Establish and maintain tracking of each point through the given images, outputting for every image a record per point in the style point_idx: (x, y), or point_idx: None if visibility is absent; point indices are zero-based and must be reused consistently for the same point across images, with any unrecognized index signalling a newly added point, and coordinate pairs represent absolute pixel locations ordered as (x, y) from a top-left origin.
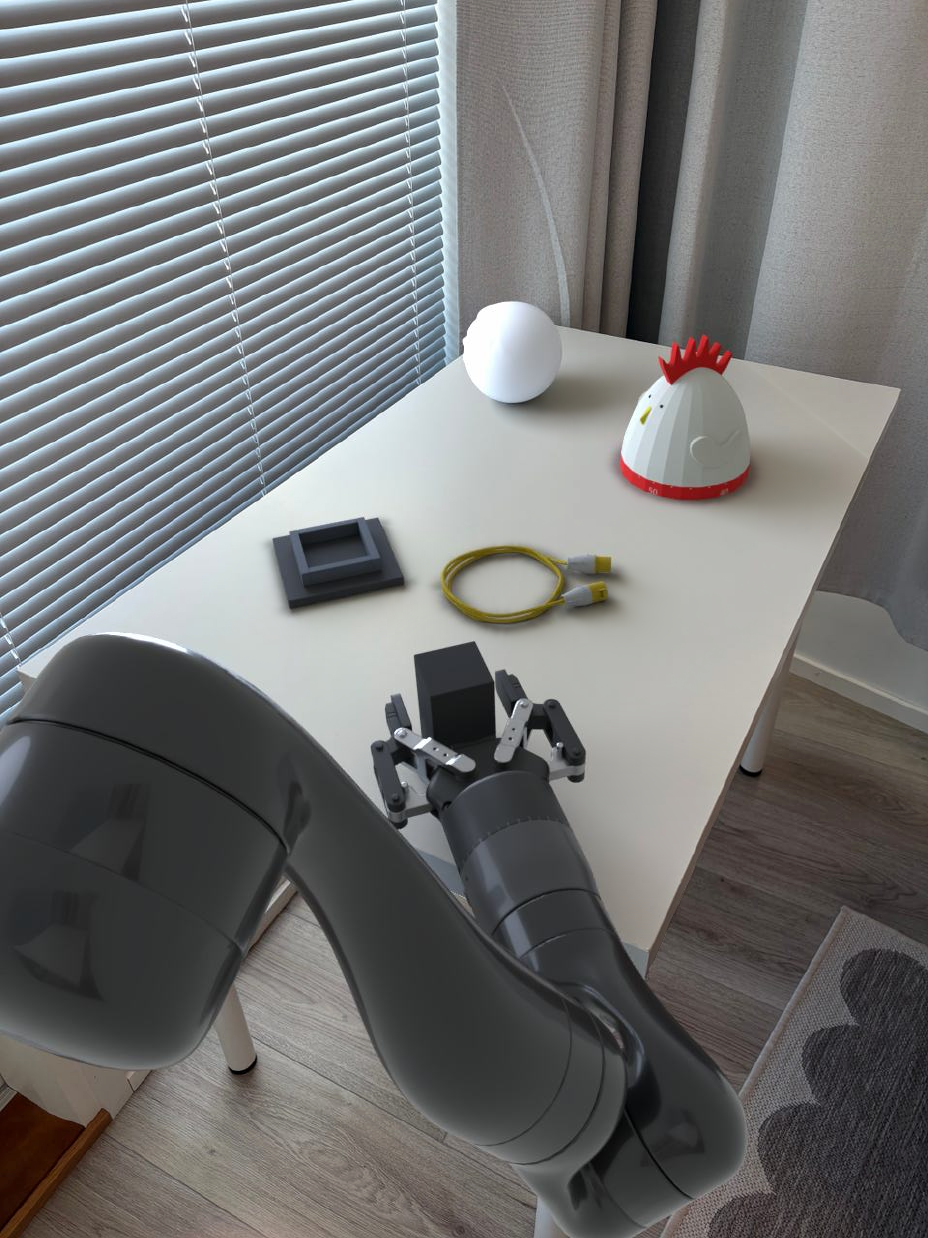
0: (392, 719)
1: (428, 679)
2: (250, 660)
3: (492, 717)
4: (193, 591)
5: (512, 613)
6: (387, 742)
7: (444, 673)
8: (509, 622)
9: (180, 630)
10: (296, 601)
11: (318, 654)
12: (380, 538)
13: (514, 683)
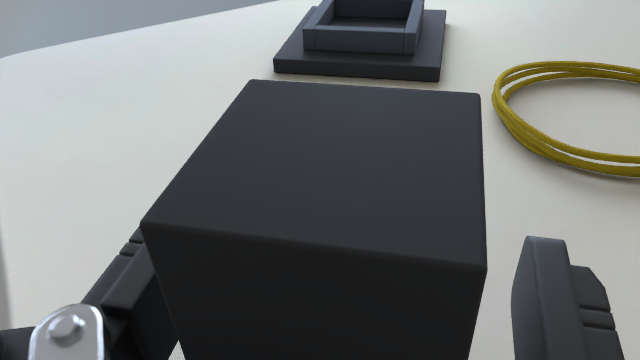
0: (122, 262)
1: (207, 155)
2: (176, 110)
3: None
4: (197, 35)
5: (609, 154)
6: (24, 335)
7: (284, 154)
8: (597, 170)
9: (144, 63)
10: (283, 62)
11: None
12: (435, 27)
13: (587, 304)
